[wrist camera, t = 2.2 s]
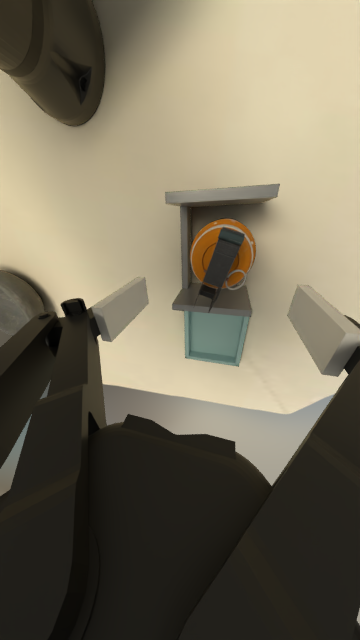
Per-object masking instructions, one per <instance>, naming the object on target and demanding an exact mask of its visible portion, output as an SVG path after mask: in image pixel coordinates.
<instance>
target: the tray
mask: <svg viewBox="0 0 360 640" xmlns="http://www.w3.org/2000/svg"><path fill="white" fill-rule="evenodd" d="M184 319H185V358H188V359H194V360H200V361H207V362H213V363H219V364H226V365H232V366H238V367H239V363H240V358H241V353H242V349H243V344H244V339H245V335H246V330H247V326H248V321H249V317H244V316H233V315H222V314H212V313H201V312H190V311H184Z"/></svg>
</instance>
